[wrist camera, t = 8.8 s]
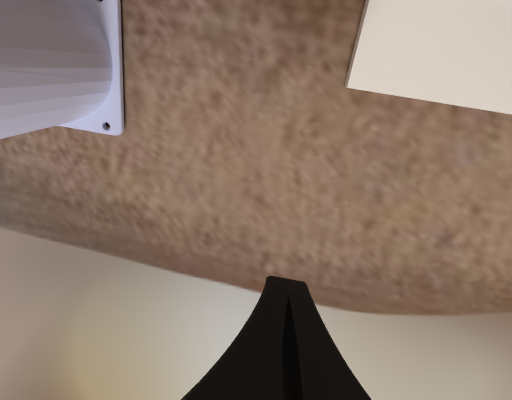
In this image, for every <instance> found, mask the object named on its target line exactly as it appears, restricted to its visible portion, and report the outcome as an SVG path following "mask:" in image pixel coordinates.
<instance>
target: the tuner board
mask: <svg viewBox="0 0 512 400" xmlns="http://www.w3.org/2000/svg"><path fill="white" fill-rule="evenodd" d="M344 87H347V88H353V89H359V90H365V91H371V92H377V93H383V94H390V95H396V96H402V97H408V98H414V99H420V100H427V101H433V102H439V103H445V104H451V105H457V106H464V107H470V108H476V109H482V110H488V111H494V112H501V113H507V114H512V0H366V1H365V5H364V9H363V13H362V17H361V21H360V25H359V29H358V33H357V37H356V41H355V45H354V49H353V53H352V57H351V61H350V65H349V69H348V73H347V77H346V81H345V85H344Z"/></svg>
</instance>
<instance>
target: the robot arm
mask: <svg viewBox="0 0 512 400" xmlns="http://www.w3.org/2000/svg"><path fill="white" fill-rule="evenodd" d="M106 122H107V123H108V124H109V125H110V129H108V128H107V127H106ZM56 125H58V126H63V127H69V128H75V129H81V130H86V131H92V132H98V133H104V134H109V135H120V134H122V133H123V131H124V102H123V69H122V37H121V4H120V0H103V1H102V2H100V0H0V139H2V138H7V137H11V136H15V135H19V134H23V133H27V132H31V131H35V130H39V129H44V128H48V127H52V126H56ZM181 400H371V398H370V397H369V396H368V394H367V393H366V391H365V390H364V389H363V387H362V386H361V384H360V383H359V382H358V380H357V379H356V377H355V376H354V374H353V373H352V371H351V370H350V369H349V367H348V366H347V364H346V362H345V360H344V359H343V357H342V356H341V354H340V352H339V351H338V349H337V347H336V345H335V344H334V342H333V340H332V338H331V336H330V335H329V333H328V331H327V329H326V327H325V325H324V323H323V321H322V319H321V317H320V315H319V313H318V311H317V309H316V306H315V304H314V302H313V300H312V297H311V295H310V292H309V290H308V287H307V285H306V283H305V282H302V281H296V280H291V279H286V278H280V277H275V276H269V277H267V278H266V283H265V287H264V290H263V292H262V294H261V297H260V299H259V301H258V303H257V305H256V307H255V308H254V310H253V312H252V314H251V316H250V317H249V319H248V320H247V322H246V323H245V325H244V326H243V328H242V329H241V331H240V333H239V334H238V335H237V337H236V338H235V340H234V341H233V342H232V344H231V345H230V346H229V348H228V349H227V350H226V351H225V353H224V354H223V355H222V356H221V358H220V359H219V360H218V361H217V362H216V363H215V365H214V366H213V367H212V368H211V369H210V370H209V371H208V373H207V374H206V375H205V376H204V377H203V378H202V379H201V380H200V382H198V383H197V384H196V385H195V386H194V387H193V388H192V389H191V390H190V391H189V392H188V393H187V394H186V395H185V396H184V397H183V398H182V399H181Z"/></svg>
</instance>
